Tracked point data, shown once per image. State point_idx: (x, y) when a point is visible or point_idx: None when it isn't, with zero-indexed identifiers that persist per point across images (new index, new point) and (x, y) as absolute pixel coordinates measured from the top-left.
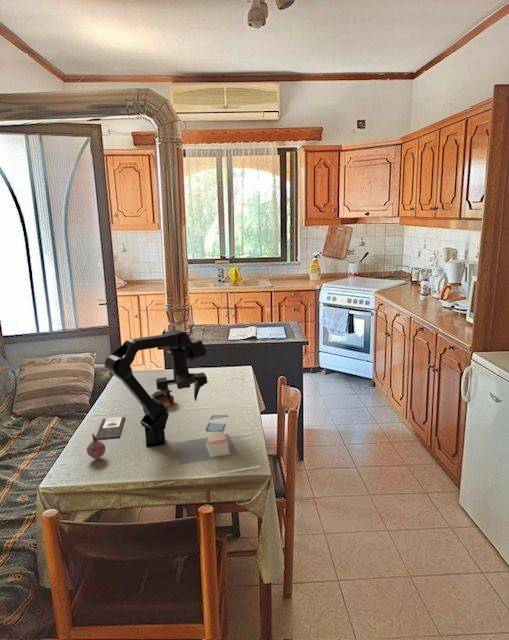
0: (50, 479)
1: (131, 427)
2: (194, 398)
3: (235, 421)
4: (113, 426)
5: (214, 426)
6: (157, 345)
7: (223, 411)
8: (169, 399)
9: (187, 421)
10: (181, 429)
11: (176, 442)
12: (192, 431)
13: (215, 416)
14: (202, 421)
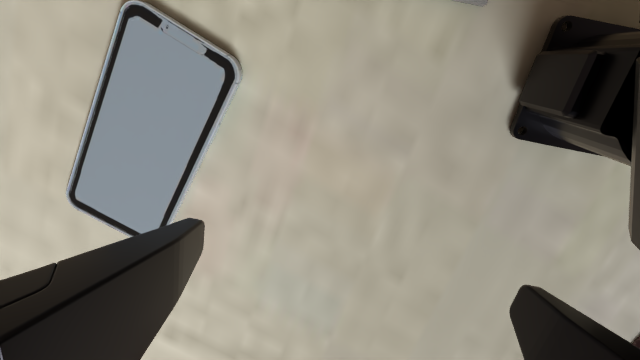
0: None
1: None
2: (192, 261)
3: (36, 114)
4: None
5: (170, 101)
6: None
7: None
8: (625, 343)
9: (298, 256)
10: (362, 184)
11: (475, 1)
12: (313, 125)
13: (139, 227)
14: (222, 215)
